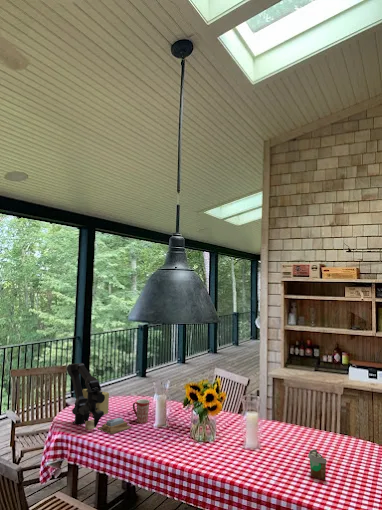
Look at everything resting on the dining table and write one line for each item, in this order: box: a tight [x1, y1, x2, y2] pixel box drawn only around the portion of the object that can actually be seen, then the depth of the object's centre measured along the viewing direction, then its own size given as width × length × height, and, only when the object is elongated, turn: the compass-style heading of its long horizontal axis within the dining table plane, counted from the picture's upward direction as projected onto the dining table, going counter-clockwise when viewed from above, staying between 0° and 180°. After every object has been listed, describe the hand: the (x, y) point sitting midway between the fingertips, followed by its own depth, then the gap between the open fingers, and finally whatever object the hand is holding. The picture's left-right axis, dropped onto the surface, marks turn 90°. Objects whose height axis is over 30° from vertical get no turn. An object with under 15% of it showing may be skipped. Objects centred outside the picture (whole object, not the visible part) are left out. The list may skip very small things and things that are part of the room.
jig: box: [97, 421, 132, 435], centre depth 252 cm, size 14×16×3 cm
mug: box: [132, 398, 151, 424], centre depth 268 cm, size 13×9×14 cm
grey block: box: [106, 417, 125, 427], centre depth 253 cm, size 4×10×5 cm, turn 137°
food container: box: [307, 448, 327, 481], centre depth 194 cm, size 12×6×10 cm, turn 5°
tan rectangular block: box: [84, 418, 97, 431], centre depth 252 cm, size 4×6×4 cm
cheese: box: [82, 388, 110, 415], centre depth 285 cm, size 22×10×15 cm, turn 58°
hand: (90, 425), depth 252 cm, fingers open, 9 cm apart
